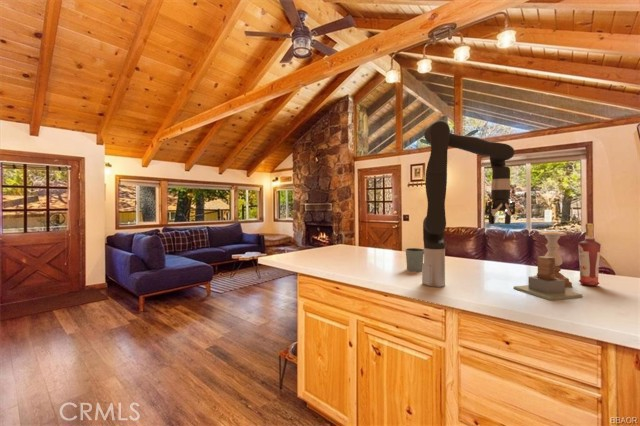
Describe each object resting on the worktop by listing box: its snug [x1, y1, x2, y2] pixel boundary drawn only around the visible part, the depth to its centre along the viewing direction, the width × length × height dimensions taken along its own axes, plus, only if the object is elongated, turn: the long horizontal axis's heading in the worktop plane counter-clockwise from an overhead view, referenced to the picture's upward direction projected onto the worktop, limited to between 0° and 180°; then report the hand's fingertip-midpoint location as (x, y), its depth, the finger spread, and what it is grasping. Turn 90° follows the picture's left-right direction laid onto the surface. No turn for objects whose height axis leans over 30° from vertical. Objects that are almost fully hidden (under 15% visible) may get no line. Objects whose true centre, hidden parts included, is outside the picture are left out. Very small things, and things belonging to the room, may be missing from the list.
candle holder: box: [535, 230, 573, 288], centre depth 133 cm, size 11×11×24 cm
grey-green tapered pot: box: [405, 247, 424, 273], centre depth 164 cm, size 10×10×12 cm
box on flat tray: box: [513, 275, 583, 301], centre depth 119 cm, size 16×16×6 cm
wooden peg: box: [537, 255, 555, 281], centre depth 119 cm, size 4×4×14 cm
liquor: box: [578, 223, 602, 287], centre depth 129 cm, size 7×7×28 cm
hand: (499, 224), depth 132 cm, fingers open, 8 cm apart
